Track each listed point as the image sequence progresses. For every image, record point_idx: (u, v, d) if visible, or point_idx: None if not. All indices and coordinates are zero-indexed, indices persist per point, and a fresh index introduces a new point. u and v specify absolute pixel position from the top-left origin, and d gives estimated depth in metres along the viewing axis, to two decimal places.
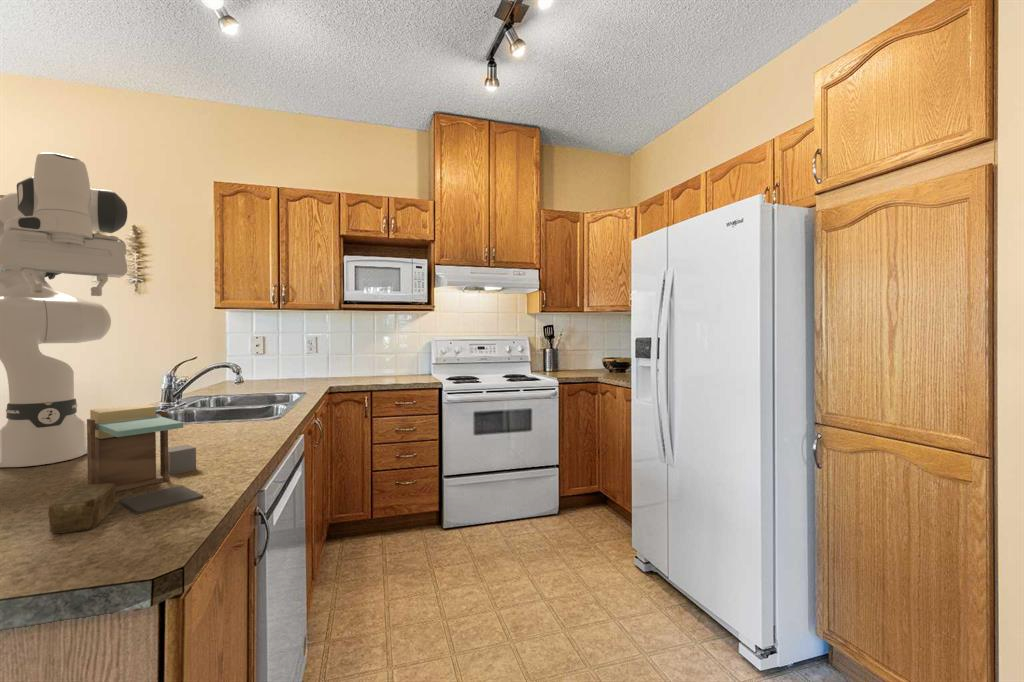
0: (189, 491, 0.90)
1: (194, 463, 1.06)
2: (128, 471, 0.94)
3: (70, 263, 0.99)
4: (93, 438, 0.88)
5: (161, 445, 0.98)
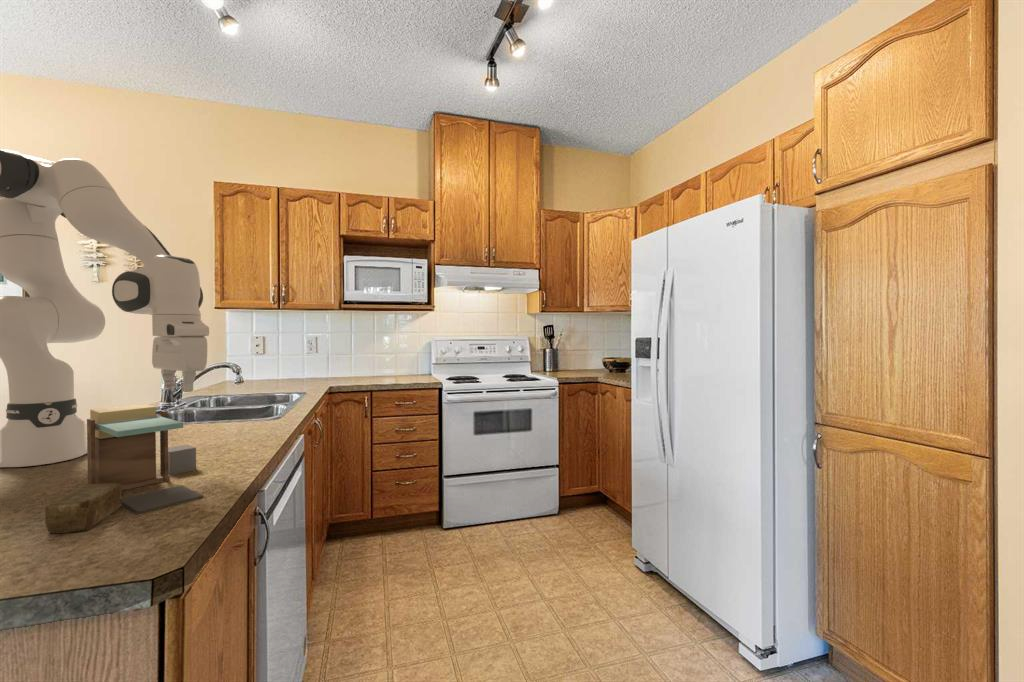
0: (189, 491, 0.90)
1: (194, 463, 1.06)
2: (128, 471, 0.94)
3: None
4: (93, 438, 0.88)
5: (161, 445, 0.98)
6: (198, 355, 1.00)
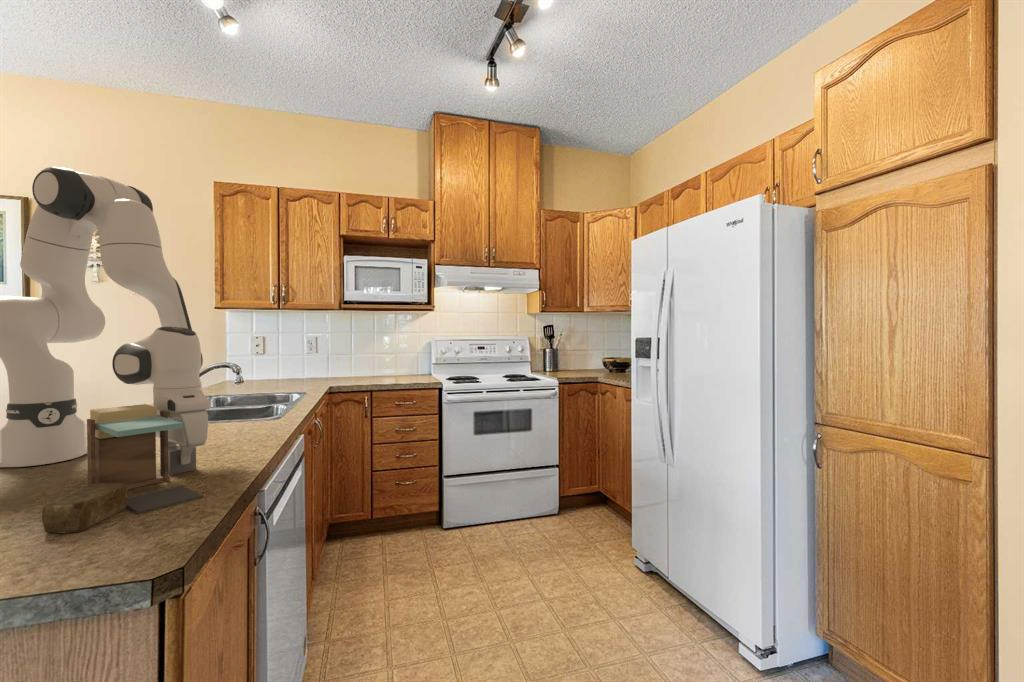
0: (189, 491, 0.90)
1: (194, 463, 1.06)
2: (128, 471, 0.94)
3: None
4: (93, 438, 0.88)
5: (161, 445, 0.98)
6: (199, 430, 1.00)
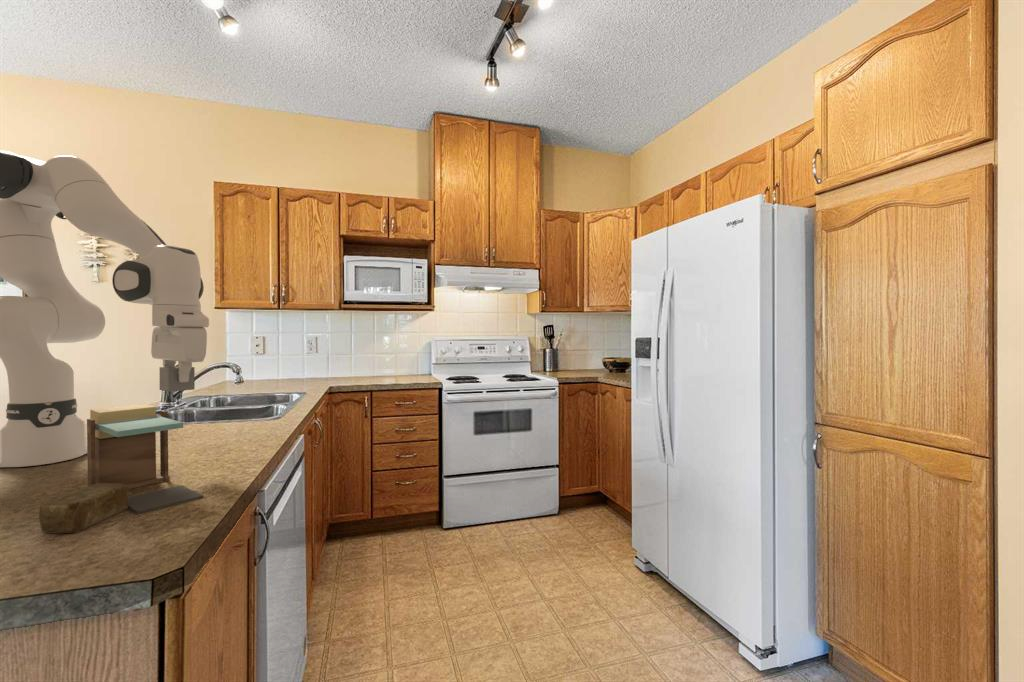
0: (189, 491, 0.90)
1: (192, 383, 1.06)
2: (128, 471, 0.94)
3: None
4: (93, 438, 0.88)
5: (161, 445, 0.98)
6: (197, 346, 1.00)
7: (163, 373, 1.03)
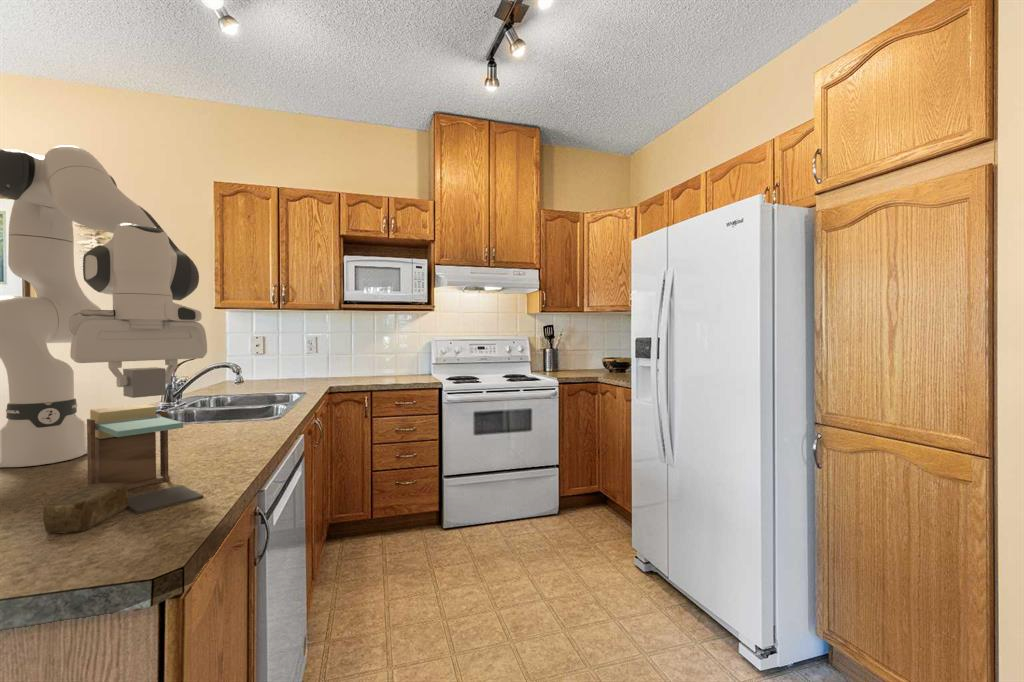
0: (189, 491, 0.90)
1: None
2: (128, 471, 0.94)
3: None
4: (93, 438, 0.88)
5: (161, 445, 0.98)
6: None
7: (149, 375, 0.87)
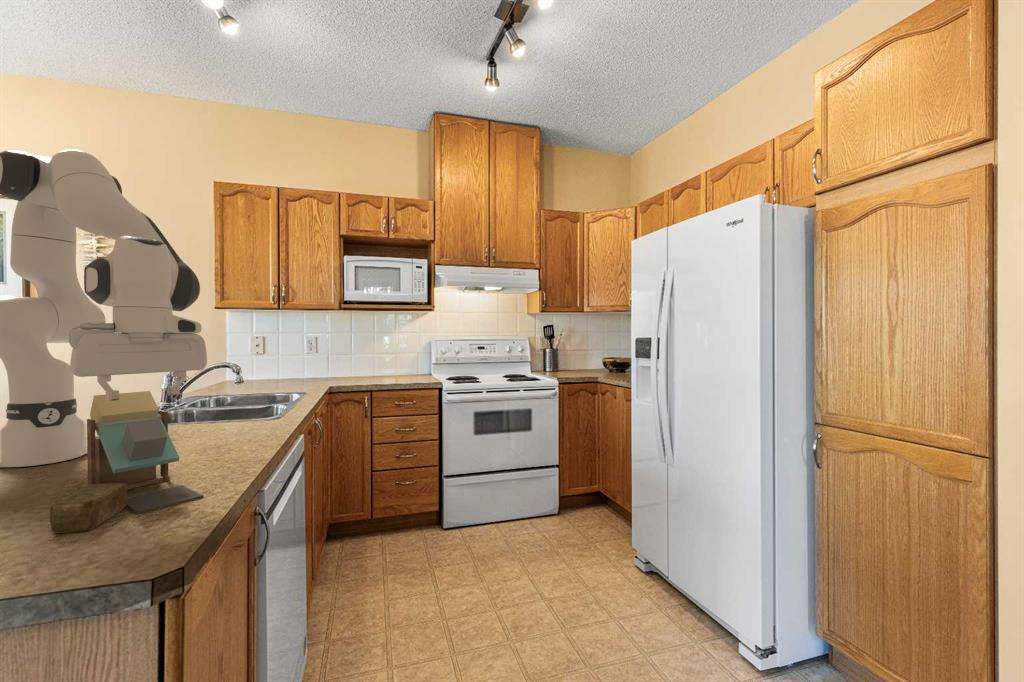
0: (189, 491, 0.90)
1: None
2: (128, 471, 0.94)
3: None
4: (93, 438, 0.88)
5: None
6: None
7: (149, 443, 0.87)
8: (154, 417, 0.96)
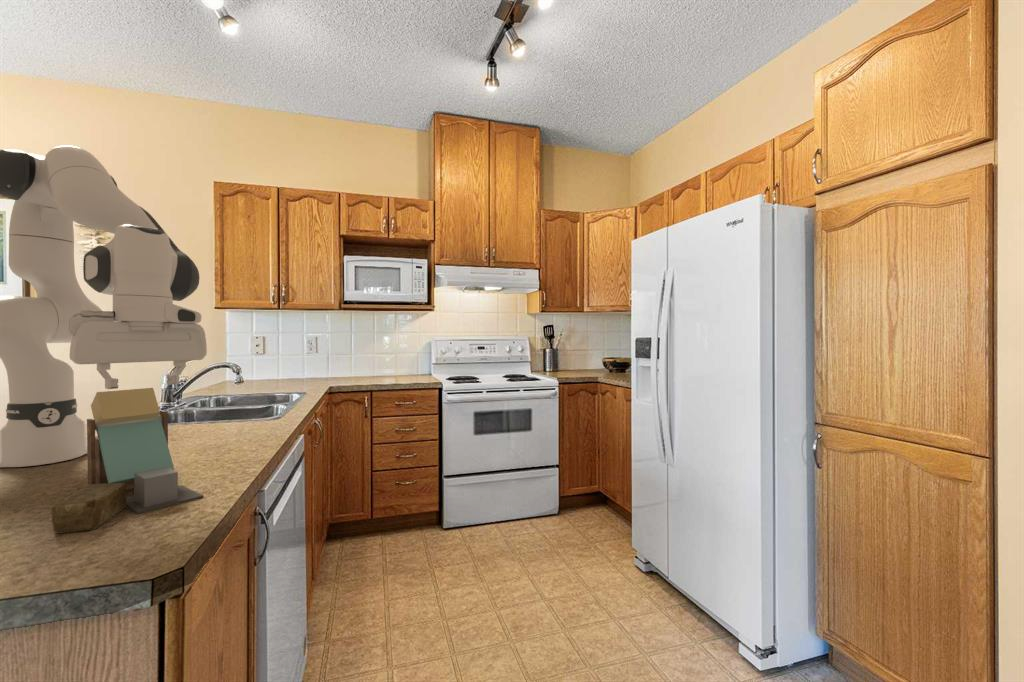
0: (189, 491, 0.90)
1: None
2: None
3: None
4: (93, 438, 0.88)
5: None
6: None
7: None
8: (154, 418, 0.96)
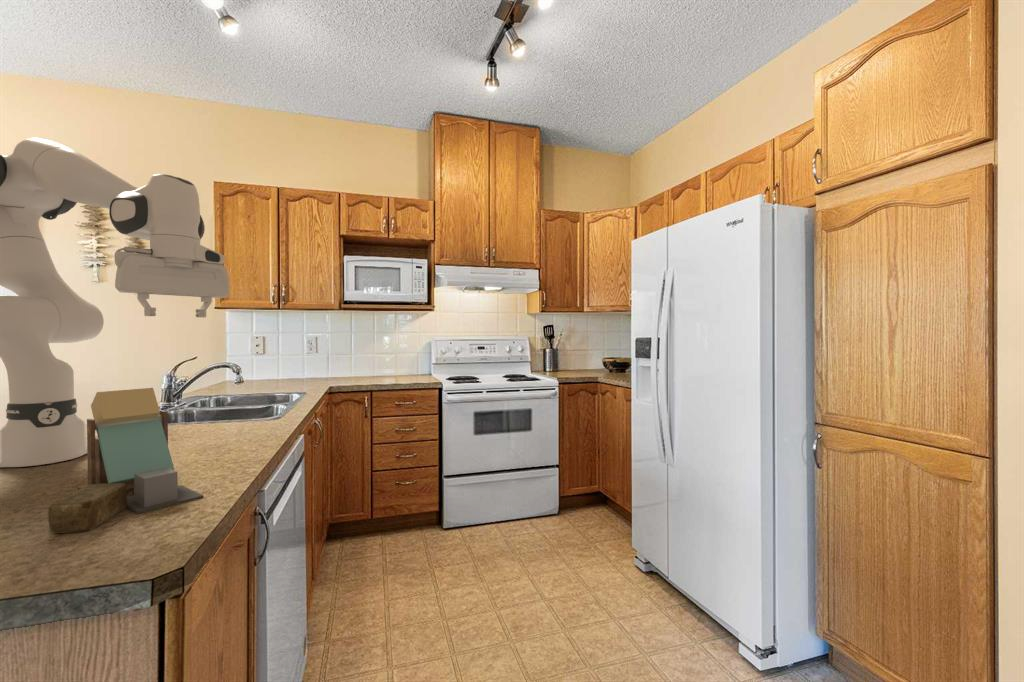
0: (189, 491, 0.90)
1: None
2: None
3: None
4: (93, 438, 0.88)
5: None
6: None
7: None
8: (154, 418, 0.96)
